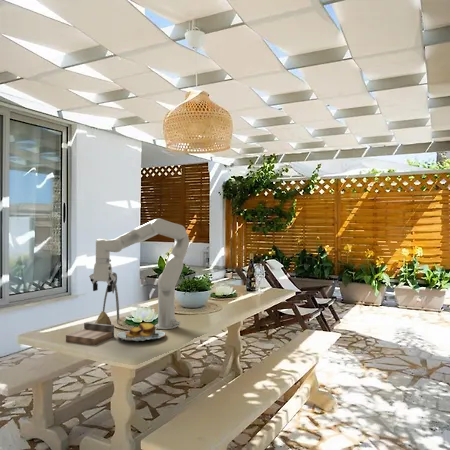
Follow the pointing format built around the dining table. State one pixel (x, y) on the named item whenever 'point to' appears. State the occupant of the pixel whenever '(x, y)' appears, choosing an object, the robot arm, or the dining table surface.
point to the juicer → (114, 287)
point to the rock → (103, 319)
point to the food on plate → (141, 333)
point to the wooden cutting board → (92, 333)
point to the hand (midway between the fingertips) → (102, 291)
